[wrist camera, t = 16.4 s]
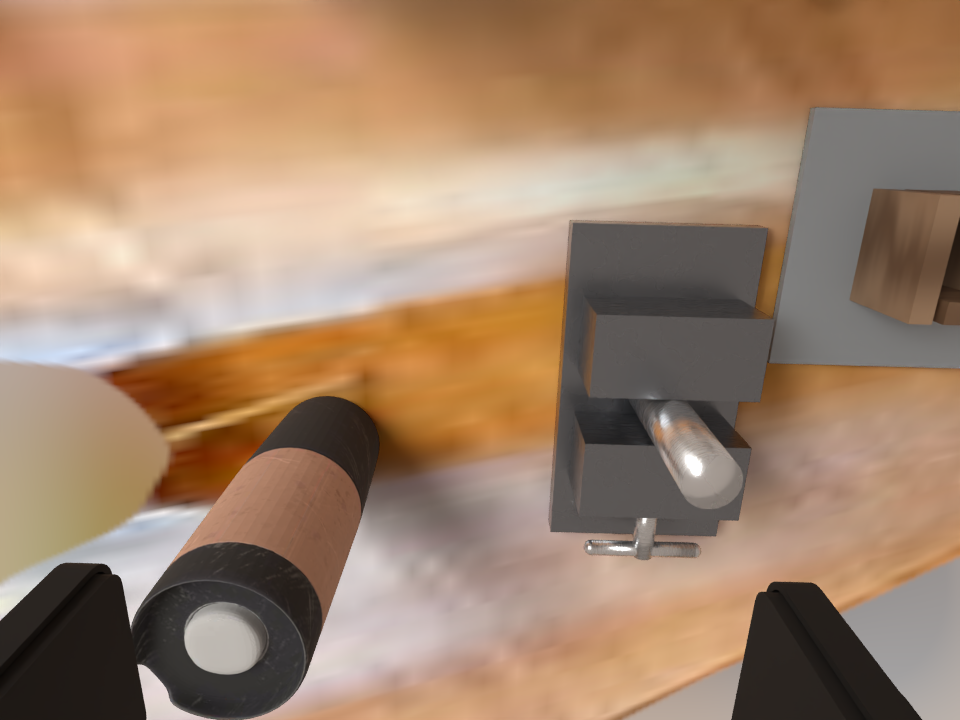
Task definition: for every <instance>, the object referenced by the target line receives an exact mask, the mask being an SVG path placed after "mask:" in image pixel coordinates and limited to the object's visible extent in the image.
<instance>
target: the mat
mask: <svg viewBox="0 0 960 720" xmlns="http://www.w3.org/2000/svg"><path fill="white" fill-rule="evenodd" d="M873 189H898V190H905V189H910V190H949V191H960V111H926V110H890V109H855V108H819V107H815V108H811V109H810V115H809V121H808V126H807V132H806V137H805V143H804V148H803V154H802V160H801V165H800V171H799V176H798V182H797V187H796V193H795V198H794V204H793V210H792V215H791V221H790V226H789V232H788V237H787V243H786V249H785V254H784V260H783V265H782V271H781V276H780V282H779V287H778V293H777V299H776V304H775V310H774V315H773V319H775V321H774V327H773V332H772V338H771V343H770V349H769V354H768V360H767V362H768V363H781V364H817V365H854V366H890V367H927V368H960V325H942V324H939V323H937V322H934V321H932V325H922V324H907V323H904V322H902V321H899V320H897V319H895V318H892V317H890V316H887V315H885V314H882V313H880V312H878V311H875V310H873V309H870V308H868V307H865V306H863V305H860V304H858V303H856V302H853V301H851V300H849V299H850V295H851V290H852V285H853V281H854V276H855V271H856V267H857V262H858V257H859V253H860V248H861V243H862V239H863V234H864V229H865V225H866V220H867V215H868V211H869V206H870V201H871V197H872V192H873Z"/></svg>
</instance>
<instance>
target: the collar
mask: <svg viewBox="0 0 960 720" xmlns="http://www.w3.org/2000/svg"><path fill="white" fill-rule="evenodd" d="M849 300H851V301H853V302H856V303H858V304H860V305H863V306H865V307H868V308H870V309H873V310H875V311H878V312H880V313H882V314H885V315H887V316H890V317H892V318H895V319H897V320H899V321H902V322H904V323H907V324H922V325H932V321H934V322H937V323H939V324H942V325H960V191H949V190H910V189H905V190H898V189H873V192H872V197H871V201H870V206H869V211H868V215H867V220H866V225H865V229H864V234H863V239H862V243H861V248H860V253H859V257H858V262H857V267H856V271H855V276H854V281H853V285H852V290H851V295H850V299H849Z"/></svg>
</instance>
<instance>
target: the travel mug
mask: <svg viewBox="0 0 960 720" xmlns="http://www.w3.org/2000/svg"><path fill="white" fill-rule="evenodd" d="M378 453H379V437H378V433H377V430H376V427H375V425H374V423H373V422H372V420H371V419H370V417H369V416H368V415H367V414H366V413H365V412H364V411H363V410H362V409H361V408H360V407H358V406H357V405H355V404H354V403H352V402H350V401H347V400H345V399H342V398H337V397H330V396H324V397H316V398H312V399H309V400H306V401H304V402H302V403H300V404H299V405H297V406H296V407H295V408H294V409H292V410H291V411H290V412H289V413H288V415H287V416H286V417H285V418H284V419H283V420H282V421H281V423H280V424H279V425H278V426H277V427H276V428H275V430H274V431H273V432H272V433H271V434H270V435H269V437H268V438H267V439H266V440H265V441H264V443H263V444H262V445H261V446H260V447H259V448H258V450H257V451H256V452H255V453H254V454H253V456H252V457H251V458H250V459H249V460H248V461H247V463H246V464H245V465H244V466H243V467H242V469H241V470H240V471H239V472H238V474H237V475H236V476H235V478H234V479H233V480H232V482H231V483H230V484H229V486H228V487H227V488H226V490H225V491H224V493H223V494H222V495H221V497H220V498H219V499H218V501H217V502H216V503H215V505H214V506H213V507H212V509H211V510H210V511H209V513H208V514H207V516H206V517H205V518H204V520H203V521H202V522H201V524H200V525H199V526H198V528H197V529H196V530H195V532H194V533H193V534H192V536H191V537H190V539H189V540H188V541H187V543H186V544H185V545H184V547H183V548H182V549H181V551H180V552H179V553H178V555H177V556H176V557H175V559H174V560H173V562H172V563H171V564H170V566H169V567H168V568H167V570H166V571H165V572H164V574H163V575H162V576H161V578H160V579H159V580H158V582H157V583H156V584H155V586H154V587H153V589H152V590H151V591H150V593H149V594H148V595H147V597H146V598H145V599H144V601H143V602H142V604H141V606H140V607H139V609H138V611H137V612H136V614H135V617H134V619H133V622H132V625H131V634H132V639H133V644H134V650H135V655H136V661H137V664H142V665H144V666H146V667H148V668H149V669H150V670H151V671H152V672H153V673H154V674H155V675H156V676H157V677H158V679H159V680H160V681H161V682H162V683H163V684H164V686H165V687H166V688H167V691H168V693H169V698H170V701H171V702H172V703H173V705H175V706H176V707H178V708H179V709H181V710H183V711H186V712H188V713H191V714H194V715H197V716H201V717H205V718H210V719H216V720H243V719H250V718H254V717H258V716H261V715H264V714H266V713H269V712H271V711H273V710H275V709H277V708H279V707H280V706H281V705H283V704H284V703H285V702H287V701H288V700H289V699H290V698H291V697H292V696H293V695H294V694H295V692H296V691H297V690H298V688H299V687H300V685H301V683H302V682H303V680H304V678H305V676H306V673H307V671H308V668H309V665H310V662H311V659H312V657H313V654H314V651H315V648H316V645H317V642H318V640H319V637H320V634H321V631H322V628H323V625H324V623H325V620H326V617H327V614H328V611H329V608H330V606H331V603H332V600H333V597H334V594H335V592H336V589H337V586H338V583H339V580H340V577H341V575H342V572H343V569H344V566H345V563H346V560H347V558H348V555H349V552H350V549H351V546H352V543H353V541H354V538H355V535H356V532H357V529H358V526H359V523H360V520H361V516H362V513H363V509H364V506H365V502H366V498H367V495H368V491H369V488H370V484H371V480H372V477H373V473H374V470H375V466H376V462H377V458H378Z"/></svg>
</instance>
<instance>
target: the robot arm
mask: <svg viewBox="0 0 960 720" xmlns="http://www.w3.org/2000/svg"><path fill="white" fill-rule="evenodd" d="M0 720H146V710H145V704H144V699H143V693H142V688H141V682H140V677H139V672H138V666H137V661H136V655H135V650H134V644H133V639H132V634H131V628H130V623H129V617H128V612H127V606H126V601H125V596H124V590H123V585H122V581H121V578H120V577H119V576H118V575H115V574H112V572H111V569H110V568H109V567H108V566H107V565H105V564H93V563H63V564H60V565H58V566H57V567H56V568H54V569H53V570H52V571H51V572H50V573H49V574H48V575H47V576H46V577H45V578H44V579H43V580H42V581H41V582H40V583H39V584H38V585H37V586H36V587H35V588H34V589H33V590H32V591H31V592H30V593H29V594H27V595H26V596H25V597H24V598H23V599H22V600H21V601H20V602H19V603H18V604H17V605H16V606H15V607H14V608H13V609H12V610H11V611H10V612H9V613H8V614H7V615H6V616H5V617H4V618H3V619H2V620H1V621H0ZM731 720H922V719H921V718H920V716H919V715H918V714H917V712H916V711H915V710H914V709H913V707H912V706H911V705H910V703H909V702H908V701H907V699H906V698H905V697H904V696H903V695H902V694H901V693H900V692H899V691H898V689H897V688H896V687H895V685H894V684H893V683H892V682H891V680H890V679H889V678H888V676H887V675H886V674H885V672H884V671H883V670H882V669H881V667H880V666H879V664H878V663H877V662H876V661H875V659H874V658H873V657H872V655H871V654H870V653H869V651H868V650H867V649H866V648H865V646H864V645H863V644H862V642H861V641H860V640H859V638H858V637H857V636H856V635H855V633H854V632H853V631H852V629H851V628H850V627H849V625H848V624H847V623H846V622H845V620H844V619H843V618H842V616H841V615H840V614H839V612H838V611H837V610H836V608H835V607H834V606H833V604H832V603H831V602H830V601H829V599H828V598H827V597H826V595H825V594H824V593H823V591H822V590H821V589H820V588H819V587H818V586H817V585H816V584H813V583H804V582H773V583H771V584H770V585H769V586H768V589H767V592H759V593H758V595H757V596H756V600H755V604H754V609H753V614H752V619H751V624H750V629H749V634H748V639H747V644H746V649H745V654H744V659H743V664H742V670H741V674H740V679H739V685H738V690H737V694H736V699H735V705H734V709H733V714H732V719H731Z"/></svg>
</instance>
